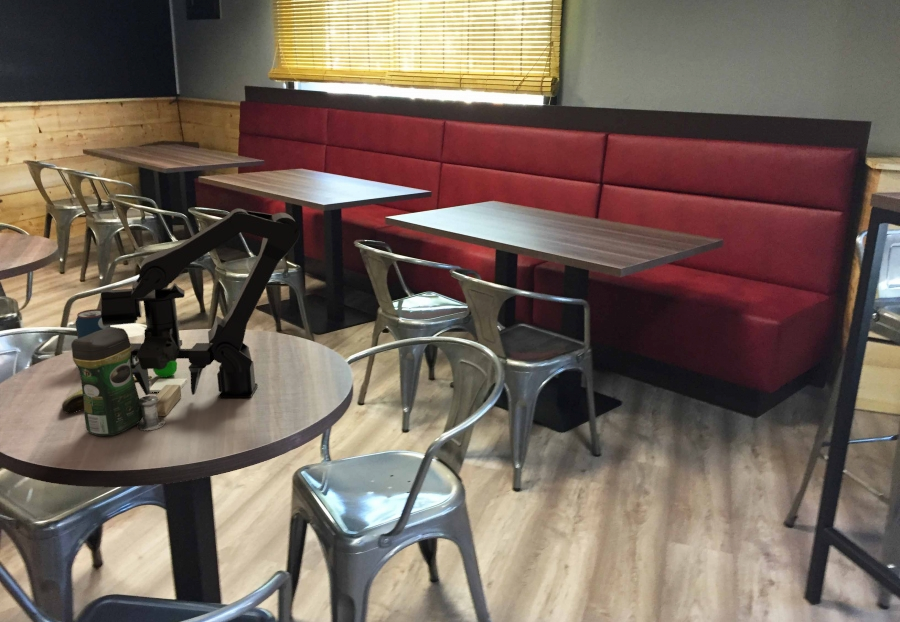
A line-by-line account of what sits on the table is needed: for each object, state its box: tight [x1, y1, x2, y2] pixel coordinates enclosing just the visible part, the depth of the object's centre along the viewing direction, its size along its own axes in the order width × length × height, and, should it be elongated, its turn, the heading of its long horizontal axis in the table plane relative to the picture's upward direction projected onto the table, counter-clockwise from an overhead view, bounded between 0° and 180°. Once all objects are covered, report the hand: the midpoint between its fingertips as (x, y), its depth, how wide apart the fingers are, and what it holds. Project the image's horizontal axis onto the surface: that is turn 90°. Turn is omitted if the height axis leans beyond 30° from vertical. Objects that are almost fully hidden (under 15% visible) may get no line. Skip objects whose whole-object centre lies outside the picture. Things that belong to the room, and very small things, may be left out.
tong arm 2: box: [156, 385, 182, 417], centre depth 145 cm, size 2×11×3 cm, turn 1°
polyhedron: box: [152, 360, 178, 379], centre depth 161 cm, size 5×5×5 cm
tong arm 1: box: [155, 385, 173, 414], centre depth 145 cm, size 1×11×3 cm, turn 0°
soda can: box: [75, 308, 111, 339], centre depth 167 cm, size 7×7×12 cm
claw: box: [61, 375, 153, 414], centre depth 151 cm, size 20×10×3 cm, turn 170°
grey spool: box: [136, 395, 166, 432], centre depth 138 cm, size 5×5×5 cm
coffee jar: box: [70, 326, 143, 437], centre depth 135 cm, size 10×8×19 cm
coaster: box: [149, 378, 188, 394], centre depth 155 cm, size 6×6×1 cm
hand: (170, 394), depth 149 cm, fingers open, 9 cm apart
